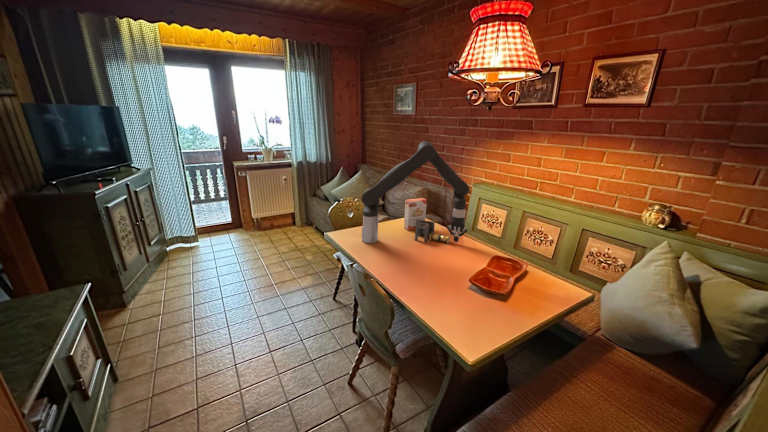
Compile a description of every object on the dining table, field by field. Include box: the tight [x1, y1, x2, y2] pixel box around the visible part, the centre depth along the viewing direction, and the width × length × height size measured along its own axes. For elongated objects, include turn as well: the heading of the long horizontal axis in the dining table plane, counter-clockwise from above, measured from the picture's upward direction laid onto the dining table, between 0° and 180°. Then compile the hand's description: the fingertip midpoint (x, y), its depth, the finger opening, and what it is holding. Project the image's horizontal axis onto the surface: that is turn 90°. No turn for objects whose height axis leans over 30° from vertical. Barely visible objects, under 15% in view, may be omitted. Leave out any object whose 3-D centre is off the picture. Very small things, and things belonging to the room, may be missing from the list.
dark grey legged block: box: [414, 220, 436, 243], centre depth 190 cm, size 12×12×10 cm
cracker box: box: [403, 197, 428, 231], centre depth 205 cm, size 14×6×21 cm, turn 115°
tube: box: [428, 232, 451, 245], centre depth 187 cm, size 12×5×5 cm, turn 70°
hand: (455, 241), depth 184 cm, fingers closed
